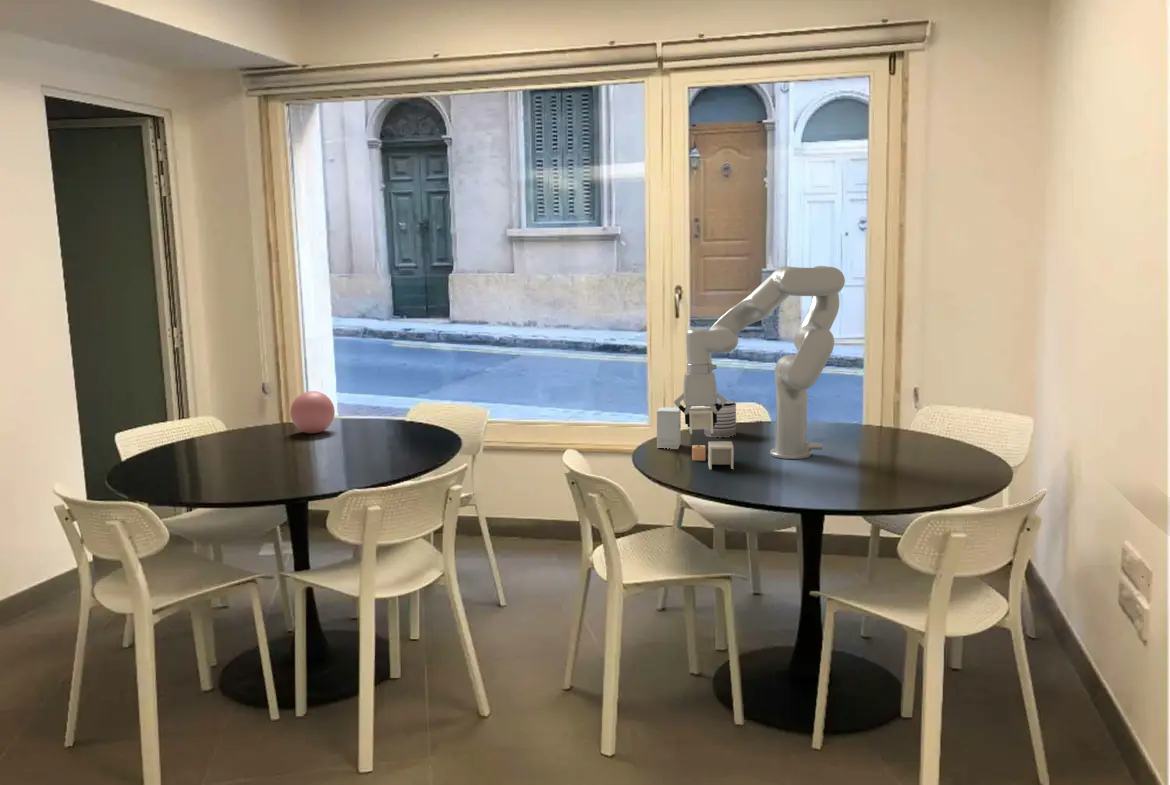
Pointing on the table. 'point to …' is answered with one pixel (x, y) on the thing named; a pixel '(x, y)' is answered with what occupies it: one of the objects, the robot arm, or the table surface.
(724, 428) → the can
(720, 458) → the plain off-white cube
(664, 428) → the supplement box
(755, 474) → the table surface
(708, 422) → the large plain cream block
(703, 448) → the letter cube
